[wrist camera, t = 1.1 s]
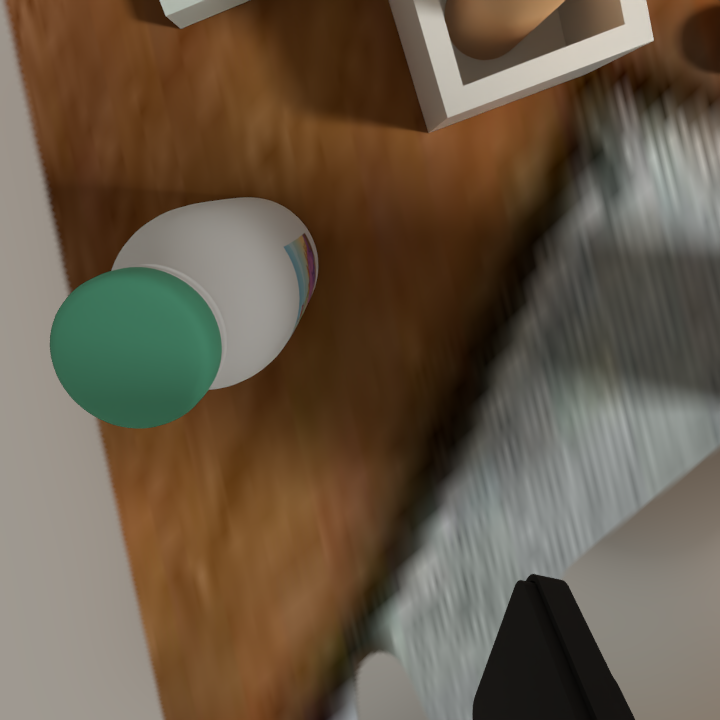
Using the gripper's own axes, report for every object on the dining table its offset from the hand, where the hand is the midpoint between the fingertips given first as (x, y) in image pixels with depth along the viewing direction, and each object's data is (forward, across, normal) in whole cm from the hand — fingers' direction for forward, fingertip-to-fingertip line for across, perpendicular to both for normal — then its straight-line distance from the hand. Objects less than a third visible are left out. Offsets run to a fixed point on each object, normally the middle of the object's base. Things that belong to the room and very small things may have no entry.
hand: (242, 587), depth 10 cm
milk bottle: (+27, +5, -1) cm, 28 cm away
